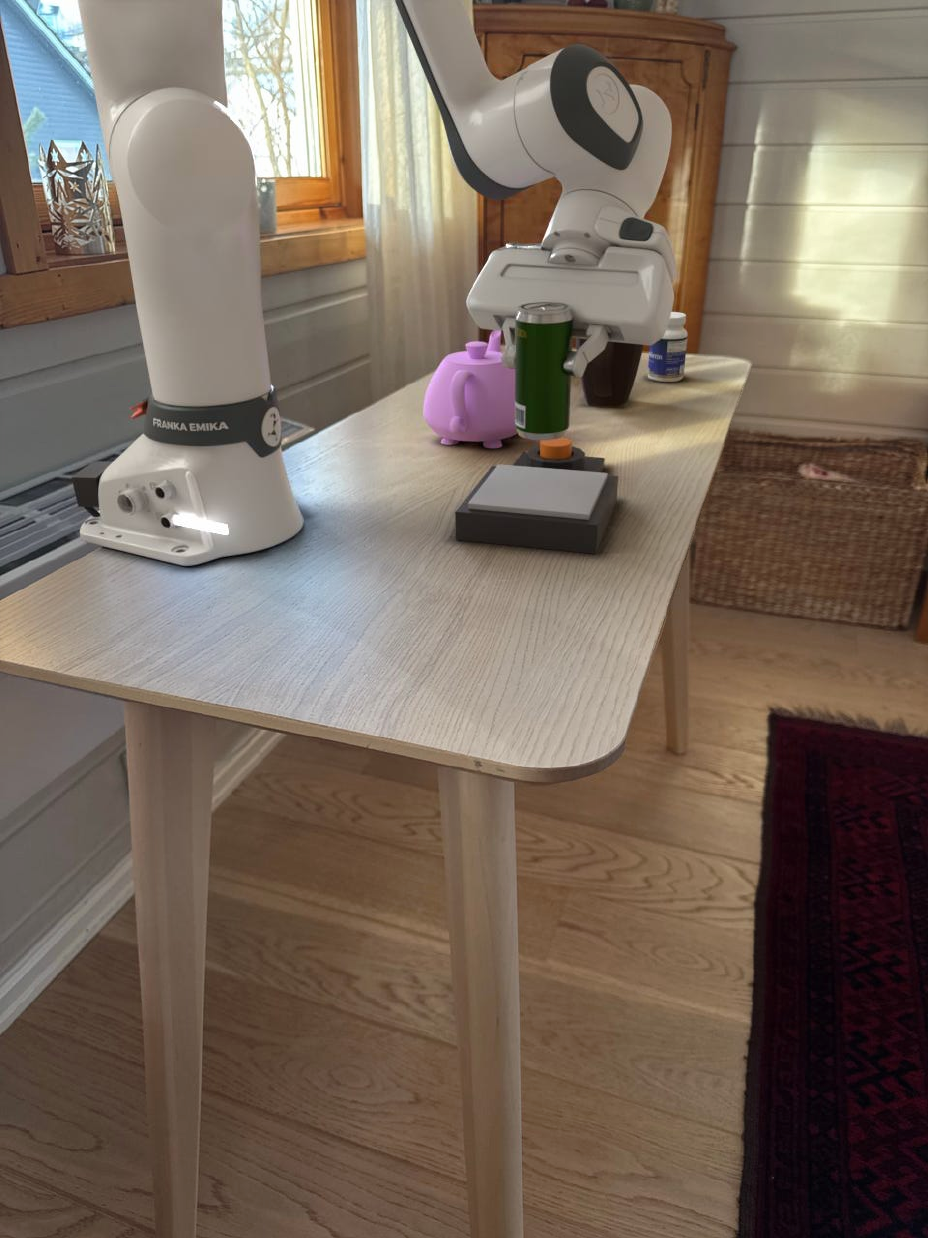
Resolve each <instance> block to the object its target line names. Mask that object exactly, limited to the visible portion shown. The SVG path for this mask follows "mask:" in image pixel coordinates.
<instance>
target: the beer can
mask: <svg viewBox="0 0 928 1238" xmlns="http://www.w3.org/2000/svg"><path fill="white" fill-rule="evenodd" d="M570 310H571V306H570V305H568V304H565V303H557V302H534V303H526V304H522V305H519V306H518V314H517V316H516V318H515V428H516V430H517V432H518V433H517V434H518V436H519V437H521V438H523V439H526V440H533V441H541V440H553V439H558V438H561V437H563V438H564V436H566V434H567V433H568V430H569V429H570V419H571V394H572V393H571V391H572V389H571V388H572V376H568V375H567V374H566V372H565V371H564V369H563V364H564V361H565V360H566V359H567V358H566V357H567V355H568V353H569V351H573V339H574V338H573V316H572V314H571V311H570Z"/></svg>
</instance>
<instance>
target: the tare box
mask: <svg viewBox="0 0 928 1238" xmlns="http://www.w3.org/2000/svg"><path fill="white" fill-rule="evenodd" d="M605 461H606V459H605V457H598V456H597V457H596V456H586V453H585V451H583V450H582V449H581V448H579V447H576V446H573V445H572V452H571V457H569V458H565V459H548V458H544V457H540V445H537V446H535V447H531V448H529V449H528V451H522V452H521V454H520V455H519V456H518V458H517V459H516V460H515V462H514V463H513V464H512V466H525V467H538V468H550V469H563V470H576V471H588V472H601V473H603V471H604V469H605Z"/></svg>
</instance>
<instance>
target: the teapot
mask: <svg viewBox="0 0 928 1238" xmlns="http://www.w3.org/2000/svg"><path fill="white" fill-rule="evenodd" d="M501 340H502V331H500V330H492V331H491V333H490V335H489V341H488V342H485V341H469V342H467V343H465V349H466V350H465V351H464V350H463V351H457V352H453V353H450V354H447V355H446V356H445V357H444V358H443V359H442V361H441V362H440V363H439V365H438V366H437V369H436V370H435V372H434V374H433V375H432V377H431V380H430V382H429V383H428V385H427V389H426V392H425V395H424V400H423V407H422V413H423V414H422V416H423V419H424V421H425V423H426V424H427V425H428V426H429V428H430V429H432V431H433V432H434V433H435V434H436V435H438V436H440V437H442V438H441V441H440V444H442V445H446V446H452V445H457V444H459V443H460V441H461V442H482V443H483V447H484V448H486V449H499V448H502V447H503V443H502V441H501V440H504V439H508V438H511V437H513V436H516V435H517V434H518V432H517V430H516V428H515V369H509V368H505V367H504V365H503V363H502V361H501V357H502V354H503V352H502V347H501V345H502V344H501Z"/></svg>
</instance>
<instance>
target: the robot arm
mask: <svg viewBox="0 0 928 1238" xmlns="http://www.w3.org/2000/svg"><path fill="white" fill-rule="evenodd" d="M394 2H395V5H396V7H397V10H398V12H399V15H400V17H401V20H402V22H403V24H404V27H405V29H406V32H407V34H408V37H409V39H410V41H411V44H412V46H413V48H414V51H415V54H416V56H417V59H418V61H419V63H420V66H421V69H422V71H423V73H424V75H425V78H426V81H427V83H428V85H429V88H430V90H431V93H432V95H433V97H434V100H435V103H436V105H437V109H438V111H439V114H440V117H441V120H442V123H443V127H444V130H445V136H446V139H447V144H448V148H449V152H450V156H451V158H452V161H453V163H454V166H455V169H456V170H457V172H458V174H459V175H460V177H461V178H462V180H463V181H464V182H465V183H466V184H467V185H468V186H469V187H470V188H472V189H473V190H474V191H475V192H476V193H478V194H479V195H481V196H482V197H484V198H487V199H489V200H493V201H505V200H508V199H510V198H512V197H514V196H515V195H518V194H520V193H522V192H524V191H526V190H527V189H530V188H531V187H533V186H535V185H536V184H539V183H542V182H544V181H546V180H549V179H552V178H554V177H555V178H556V180H557V181H559V183H560V184H561V187H562V192H561V195H560V197H559V199H558V201H557V204H556V207H555V208H554V211H553V214H552V216H551V218H550V221H549V223H548V227H547V228H546V232H545V234H544V236H543V239H542V241H541V243H519V242H508V243H506V244H505V246H502V247H499V248H498V249H495V250H493V251H492V252H491V253H490V255H489V257H488V259H487V261H486V263H485V265H484V266H483V268H482V269H481V271H480V273H479V274H478V276H477V278H476V279H475V282H474V283H473V285H472V286H471V289H470V291H469V293H468V295H467V298H466V302H465V303H466V307H467V310H468V312H469V315H470V316H471V318H472V319H473V321H474V323H475V324H476V326H477V327H478V328H480V329H481V330H489V331H491V330H492V331H493V330H500V331H501V332H503V333H502V334H503V338H504V343H505V347H504V349H503V352H502V353H503V354H502V357H501V361H502V363H503V365H504V367H505V368H509V369H515V318H516V316H517V314H518V306H519V305H522V304H526V303H534V302H557V303H565V304H568V305H570V306H571V310H570V311H571V314H572V316H573V338H572V339H576V338H581V339H588V340H587V341H586V342H585V343H584V344H583V345H582V346H581V347H580V348H579V349H578V350H577V349H576V350H572V351H569V353H568V355H567V357H566V358H567V359H566V360H565V361H564V364H563V369H564V371H565V372H566V374H567V375H568V376H571V377H574V378H580V377H582V376H583V373H584V371H585V368H586V366H587V363H589V362H590V361H592V360H593V359H594V358H595V357H596V356H597V355H599V354H600V353H601V352H602V351H603V350H604V349H605V347H606V344H607V342H608V341H611V342H622V343H632V344H642V345H643V346H650V345H653V344H654V343H656V342H657V341H659V340H660V339H661V338H662V337H663V336H664V334H665V332H666V329H667V326H668V323H669V319H670V316H671V312H673V311H672V310H673V306H674V300H675V293H674V288H673V284H674V282H675V281H676V277H677V275H678V268H677V260H676V255H675V251H674V247H673V244H672V242H671V239H670V236H669V234H668V232H667V230H666V228H665V227H664V226H663V225H661V224H659V223H657V222H654V221H651V220H648V219H646V218H645V215H646V213H647V212H648V211H649V210H650V208H651V207H652V205H653V204H654V202H655V201H656V197H657V194H658V192H659V190H660V186H661V184H662V181H663V179H664V175H665V171H666V167H667V165H668V160H669V157H670V151H671V145H672V144H671V143H672V134H673V125H672V123H673V122H672V117H671V114H670V111H669V109H668V107H667V105H666V104H665V102H664V101H663V99H662V98H661V97H660V96H659V95H657V93H656V92H654V91H653V90H651V89H649V88H648V87H646V86H643V85H639V84H629V82H628V81H627V79H625V77H624V76H623V75H622V73H621V72H620V71H619V70H618V69H617V67H616V66H615V65H614V64H613V63H612V62H611V61H610V60H609V59H608V58H607V57H606V56H605V55H604V54H602V53H601V52H599V51H598V50H596V49H594V48H593V47H591V46H588V45H586V44H581V43H574V44H569V45H567V46H565V47H564V48H561V49H559V50H557V51H554V52H553V53H551V54H549V55H547V56H545V57H543V58H541V59H539V60H537V61H535V62H533V63H531V64H529V65H528V66H527V67H525V68H523V69H522V70H520V71H518V72H516V73H514V74H512V75H510V76H507V77H506V78H503V79H498V78H497V77H495V76H494V75H493V74H492V73H491V71H490V70H489V68H488V65H487V62H486V60H485V59H486V58H485V57H484V54H483V50H482V49H481V46H480V43H479V41H478V38H477V35H476V32H475V30H474V26H473V23H472V21H471V19H470V16H469V13H468V11H467V7H466V5H465V2H464V0H394ZM77 5H78V9H79V15H80V21H81V25H82V32H83V38H84V42H85V48H86V53H87V54H86V55H87V59H88V65H89V69H90V76H91V80H92V86H93V91H94V97H95V102H96V108H97V113H98V118H99V124H100V130H101V134H102V140H103V141H102V142H103V146H104V151H105V155H106V156H105V157H106V160H107V166H108V171H109V174H110V177H111V180H112V183H113V185H114V187H115V188H116V192H117V193H116V194H117V198H118V204H119V208H120V214H121V220H122V227H123V232H124V237H125V245H126V249H127V255H128V262H129V267H130V273H131V278H132V286H133V292H134V300H135V305H136V313H137V317H138V323H139V329H140V334H141V340H142V345H143V351H144V356H145V361H146V366H147V371H148V377H149V383H150V387H151V394H150V395H148V396H147V397H146V398H143V400H142V402H140V403H137V404H135V405H133V406H131V407H129V410H130V411H133V410H134V411H135V410H136V409H137V410H136V411H135V412H134V413H133V414H132V415H131V416H130V418H131V419H132V420H135V419H138V418H140V417H141V416H145V417H144V422H143V427H142V434H141V435H140V436H139V437H137V438H136V439H135V441H133V442H132V443H131V444H130V445H129V446H128V447H127V448H126V449H125V450H124V451H123V452H122V453H121V454H120V455H118V456H117V458H116V459H114V461H96V460H95V461H92V462H90V463H89V464H88V465H87V466H85V467H84V468H82V469H80V471H78V472H76V473H75V474H74V475H72V476H71V478H70V479H71V482H72V487H73V491H74V495H75V499H76V503H77V506H78V508H84V509H85V510H86V511H87V512H88V513H89V515H90V516H89V517H88V518H87V519H86V520H85V521H84V522H83V523H82V525H81V526H80V528H79V537H80V538H79V539H80V541H81V542H85V543H89V544H92V545H96V546H101V547H105V548H109V549H111V550H112V549H113V550H116V551H121V552H125V553H128V554H132V555H133V554H134V555H138V556H142V557H146V558H149V559H152V560H153V559H154V560H158V561H161V562H165V563H166V562H167V563H171V564H174V565H177V566H178V565H179V566H184V567H187V566H188V567H189V566H190V567H191V566H195V565H200V564H204V563H207V562H210V561H213V560H217V559H220V558H225V557H230V556H237V555H243V554H244V555H245V554H249V553H253V552H259V551H262V550H265V549H269V548H271V547H274V546H277V545H280V544H282V543H284V542H286V541H288V540H290V539H291V538H293V537H294V536H295V535H297V534H299V532H300V531H301V530H302V528H303V527H304V523H305V519H304V517H303V514H302V511H300V510H301V509H300V508H299V505H298V503H297V500H296V498H295V495H294V491H293V489H292V486H291V482H290V479H289V475H288V472H287V468H286V464H285V460H284V459H285V458H284V456H283V449H282V442H283V441H282V435H283V434H282V421H281V415H280V414H281V413H280V407H279V406H280V405H279V399H278V394H277V389H276V387H275V386H274V385H273V384H272V380H271V373H270V372H271V371H270V364H269V356H268V347H267V339H266V329H265V321H264V314H263V303H262V302H263V301H262V261H261V260H262V258H261V256H262V255H261V231H260V229H261V228H260V212H259V196H258V183H257V182H258V180H257V166H256V159H255V154H254V150H253V147H252V145H251V141H250V140H249V138H248V135H247V133H246V132H245V130H244V127H242V125H241V123H240V122H239V121H238V120H237V118H236V117H235V115H233V113H232V112H230V110H229V101H228V90H227V87H228V86H227V75H226V74H227V73H226V57H225V38H224V37H225V36H224V35H225V34H224V0H77ZM96 508H98V509H99V510H97V509H96Z"/></svg>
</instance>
